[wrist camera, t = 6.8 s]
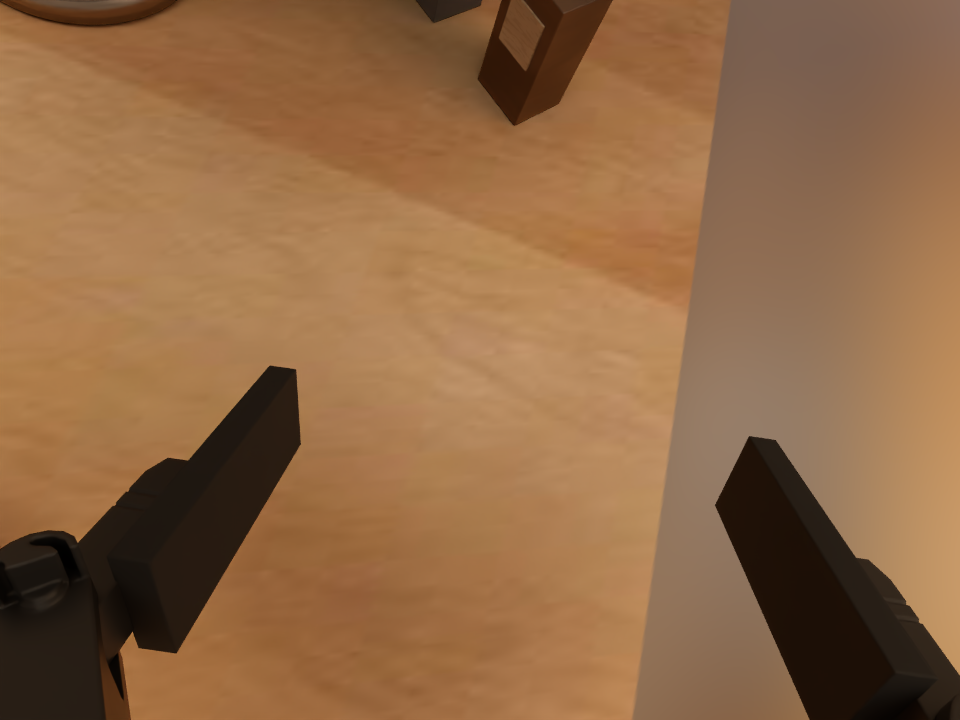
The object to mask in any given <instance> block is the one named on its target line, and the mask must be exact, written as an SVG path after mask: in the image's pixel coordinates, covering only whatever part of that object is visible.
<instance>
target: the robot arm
mask: <svg viewBox="0 0 960 720" xmlns="http://www.w3.org/2000/svg"><path fill="white" fill-rule="evenodd" d="M0 1H1V2H3V3H5V4H7V5H9V6H11V7H13V8H15V9H18V10H20V11H23V12H25V13H28V14H31V15H34V16H37V17H41V18H45V19H49V20H53V21H59V22H64V23H73V24H87V25H100V24H114V23H121V22H127V21H132V20H136V19H140V18H143V17H146V16H149V15H152V14H154V13H156V12H158V11H161V10H162V9H164V8H166V7H168V6H170V5H171V4H172V3H174V2H175V1H177V0H0ZM300 445H301V441H300V424H299V408H298V392H297V375H296V369H290V368H283V367H276V366H269V367H268V368H267V369H266V370H265V372H264V373H263V374H262V375H261V376H260V377H259V379H258V380H257V381H256V382H255V383H254V384H253V386H252V387H251V388H250V389H249V390H248V391H247V393H246V394H245V395H244V396H243V397H242V398H241V400H240V401H239V402H238V403H237V404H236V405H235V407H234V408H233V409H232V410H231V411H230V412H229V414H228V415H227V416H226V417H225V418H224V419H223V421H222V422H221V423H220V424H219V425H218V426H217V428H216V429H215V430H214V431H213V432H212V433H211V435H210V436H209V437H208V438H207V439H206V440H205V442H204V443H203V444H202V445H201V446H200V447H199V449H198V450H197V451H196V452H195V453H194V454H193V456H192V457H191V458H190V459H189V460H188V461H187V460H180V459H173V458H167V459H165V460H163V461H162V462H160V463H158V464H157V465H155V466H153V467H152V468H150V469H148V470H147V471H145V472H144V473H143V474H142V475H141V476H140V478H139V479H138V480H137V481H136V482H135V483H134V484H133V485H132V486H131V487H130V488H129V491H128V492H125V493H124V495H123V496H122V497H121V498H120V499H119V500H118V501H117V502H116V505H115V506H112V507H111V508H110V509H109V510H108V512H107V513H106V514H105V515H104V516H103V517H102V518H101V519H100V520H99V521H98V522H97V523H96V524H95V525H94V526H93V527H92V529H91V530H90V531H89V532H88V533H87V534H86V535H85V536H84V537H83V538H82V539H81V540H80V541H79V542H78V543H77V541H76V539H75V537H74V536H72V535H70V534H68V533H66V532H64V531H50V530H48V531H43V532H38V533H33V534H29V535H27V536H24V537H22V538H19V539H17V540H15V541H12V542H10V543H9V544H7V545H6V546H4V547H3V548H1V549H0V720H131V717H130V710H129V702H128V695H127V688H126V681H125V674H124V667H123V660H122V656H121V653H120V651H119V650H120V649H121V647H122V646H123V644H124V643H125V641H126V640H127V639H128V637H129V636H130V634H131V633H132V631H133V633H134V636H135V639H136V642H137V645H138V648H142V649H149V650H156V651H163V652H169V653H177V652H178V650H179V648H180V646H181V645H182V643H183V641H184V640H185V638H186V636H187V635H188V633H189V631H190V630H191V628H192V626H193V625H194V623H195V621H196V620H197V618H198V616H199V615H200V613H201V611H202V609H203V608H204V606H205V604H206V603H207V601H208V599H209V598H210V596H211V594H212V593H213V591H214V589H215V588H216V586H217V584H218V583H219V581H220V579H221V577H222V576H223V574H224V572H225V571H226V569H227V567H228V566H229V564H230V562H231V561H232V559H233V557H234V556H235V554H236V552H237V551H238V549H239V547H240V546H241V544H242V542H243V540H244V539H245V537H246V535H247V534H248V532H249V530H250V529H251V527H252V525H253V524H254V522H255V520H256V519H257V517H258V515H259V514H260V512H261V510H262V508H263V507H264V505H265V503H266V502H267V500H268V498H269V497H270V495H271V493H272V492H273V490H274V488H275V487H276V485H277V483H278V482H279V480H280V478H281V477H282V475H283V473H284V471H285V470H286V468H287V466H288V465H289V463H290V461H291V460H292V458H293V456H294V455H295V453H296V451H297V450H298V448H299V446H300ZM715 506H716V508H717V511H718V513H719V515H720V517H721V520H722V522H723V524H724V527H725V529H726V531H727V533H728V536H729V538H730V540H731V542H732V545H733V547H734V549H735V552H736V554H737V556H738V558H739V560H740V563H741V565H742V567H743V569H744V572H745V574H746V576H747V579H748V581H749V583H750V585H751V588H752V590H753V592H754V595H755V597H756V599H757V601H758V604H759V606H760V608H761V610H762V613H763V614H764V617H765V619H766V622H767V624H768V626H769V629H770V631H771V633H772V635H773V638H774V640H775V642H776V644H777V647H778V649H779V651H780V653H781V656H782V658H783V660H784V662H785V665H786V667H787V669H788V672H789V674H790V676H791V678H792V680H793V683H794V685H795V687H796V690H797V691H798V694H799V696H800V699H801V701H802V703H803V706H804V708H805V710H806V712H807V715H808V717H809V719H810V720H960V675H959V674H958V673H957V671H956V670H955V668H954V667H953V666H952V664H951V663H950V662H949V660H948V659H947V657H946V656H945V654H944V653H943V652H942V650H941V649H940V648H939V646H938V645H937V643H936V642H935V641H934V639H933V638H932V636H931V635H930V634H929V632H928V631H927V630H926V628H925V627H924V625H923V624H920V623H919V619H918V617H917V616H916V614H915V613H914V612H913V610H912V609H911V607H910V606H908V605H906V600H905V599H904V598H903V596H902V595H901V594H900V592H899V591H898V589H897V588H896V587H895V585H894V584H893V583H892V581H891V580H890V579H889V578H888V577H887V576H886V575H885V574H883V572H881V571H880V570H879V569H878V568H877V567H876V566H875V565H873V564H872V563H871V562H870V561H869V560H867V559H860V558H856V557H855V556H854V554H853V553H852V551H851V550H850V548H849V547H848V545H847V544H846V542H845V541H844V540H843V538H842V537H841V535H840V534H839V532H838V531H837V529H836V528H835V526H834V525H833V524H832V522H831V520H830V519H829V518H828V516H827V515H826V514H825V512H824V510H823V509H822V507H821V506H820V505H819V503H818V501H817V500H816V499H815V497H814V496H813V494H812V493H811V491H810V490H809V488H808V487H807V485H806V484H805V482H804V481H803V480H802V478H801V477H800V475H799V474H798V472H797V471H796V469H795V468H794V466H793V465H792V464H791V462H790V460H789V459H788V458H787V456H786V455H785V453H784V452H783V450H782V449H781V448H780V446H779V444H778V443H777V442H776V440H771V439H764V438H758V437H751V436H749V437H748V439H747V442H746V444H745V446H744V448H743V450H742V452H741V454H740V456H739V458H738V460H737V462H736V464H735V466H734V468H733V470H732V472H731V474H730V476H729V478H728V480H727V482H726V484H725V486H724V488H723V490H722V492H721V494H720V496H719V498H718V500H717V502H716V504H715Z"/></svg>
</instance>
